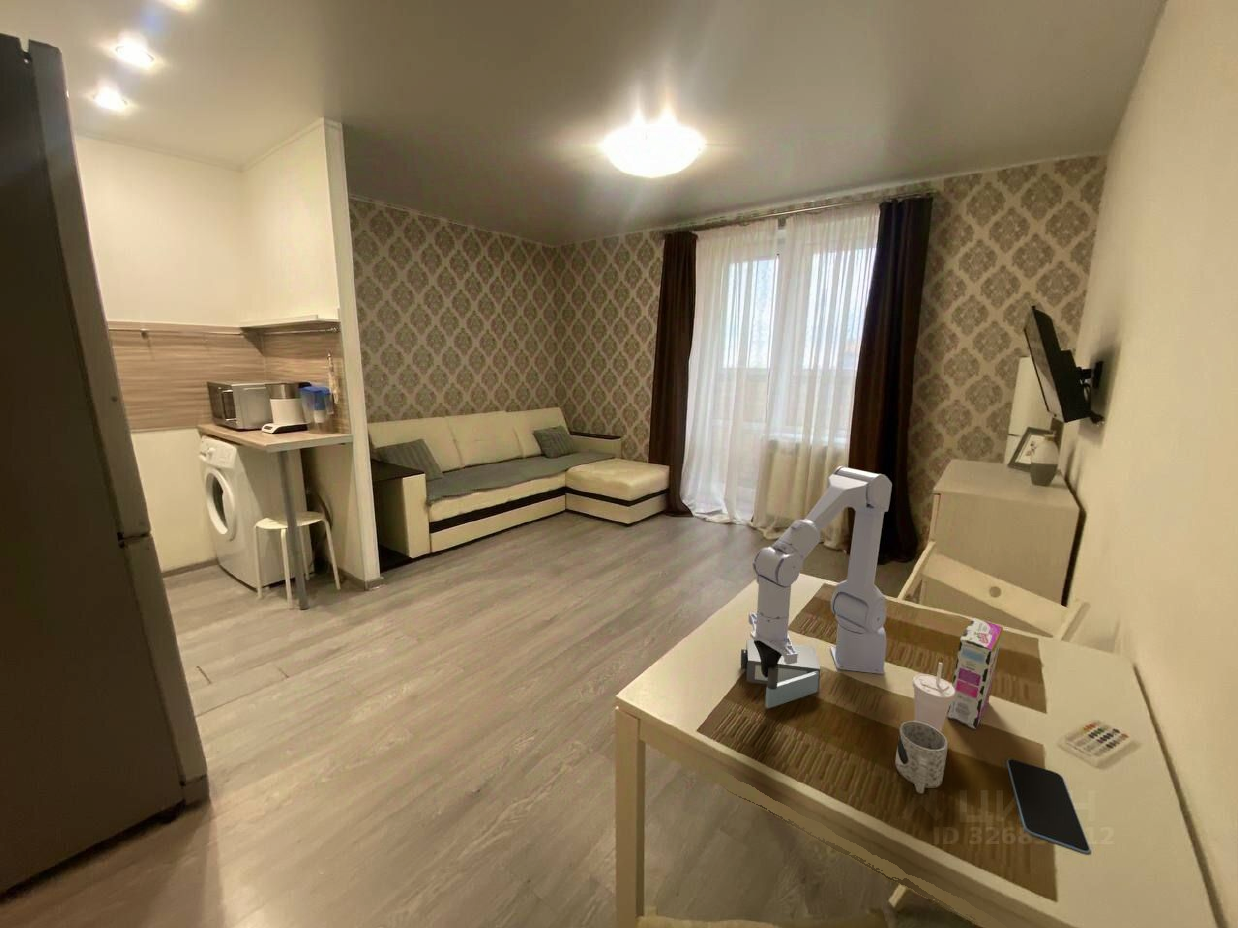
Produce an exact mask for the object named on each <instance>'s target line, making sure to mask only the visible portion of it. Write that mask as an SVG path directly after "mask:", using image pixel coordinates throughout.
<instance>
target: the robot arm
mask: <svg viewBox="0 0 1238 928" xmlns="http://www.w3.org/2000/svg"><path fill="white" fill-rule="evenodd" d="M826 485H827V486H826V490H825V491H824V493H823V495H822V496H821V497H820V498H819V500H818V501H817V503H815V505H814V506H813V508H812V509H811V511H810V512H809V513H808V514H807V516H806V517H805V518H804V519H796V520H795V521H793V522H792V523H791V525H790V526H789V527H788V528H787V529H786V530H785V531H784V532H783V533H782V534H781V536H779V538H778V539H776V541H775V542H774V543H773V544H772V545H771V546H767V547H764V548H761V549H759V551H758V552H757V553H756V555H755V558H754V561H753V562H752V569H753V572H754V573H755V575H756V578H755V579H756V583H757V584H758V591H757V592H758V593H757V605H756V606H757V607H756V609H757V612H754V613H753V612H752V613H748V623H749V624H750V625H752V628H753V631H750V638H751V639H752V640H754V644H755V646H756V648H757V650H758V653H759V656H760V660H761V671H762V674H763V675H764V677H765V678H767V677H768V667H769V666H770V665H775V666H778V661H779V659H780V658H781V656H783V657H784V662H785V663H786V664H787V665H788V664H794V663H797V656H798V653H797V652H796V651H795V650H794V648H793V645H792V644H793V642H792V639H791V637H790V634H789V618H790V605H791V594H792V593H791V592H792V585H793V584H794V583H795V582H796V581H797V580H798V578H799V576H800V573H801V570H802V568H803V566H804V560H805V559H806V558H807V557H808V556H809V554H811V552H812V551H813V550H814V549H815V548H816V547H817V545H818V544H819V543H821V532H822V530H823V529H825V528H826V527H827V525H829V523H831V522H832V521H833V520H834V519H835V518H836V517H837V516H838V515H839V514H840V513H842V512H843V510H845V509H846V508H853V509H854V511H855V515H854V522H853V523H854V524H853V529H852V530H853V531H852V538H851V545H850V554H849V561H848V568H847V577H846V579H845V580H841V581H840V582H838V583H837V584H836V585H835V588H834V589H835V590H834V593H833V595H832V597H831V599H830V610H831V612H832V613H833V614H834V615H835V618H834V619H835V621H837V630H836V631H837V632H836V641H835V646H830V647H829V649H830V653H831V655H832V659H833V662H834V665H835V667H836V669H838V670H842V671H843V670H845V671H855V672H862V673H863V672H864V673H870V674H880V675H884V674H885V670H884V669H885V662H886V661H885V660H886V654H887V653H886V652H887V643H888V642H887V634H886V631H885V628H884V624H885V622H886V620H887V609H886V608H887V607H886V599H887V597H886V596H885V595H884V593H882V591H881V590H880V589H879V588H878V587H877V585H875V579H876V574H877V573H876V572H877V565H878V558H879V552H880V544H881V537H882V530H883V524H884V515H885V513H887V512H888V511H889V507H890V502H891V493H892V487H893V483H892V481H891V480H890V479H889V477H888V476H886V474H882V473H875V472H870V471H866V470H861V469H856V468H851V467H848V466H844V465H840V466H838V467H836V468H835V469H834V471H832V473H831V474H830V475H829V476H828V478H827V483H826Z"/></svg>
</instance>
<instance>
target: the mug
mask: <svg viewBox="0 0 1238 928" xmlns="http://www.w3.org/2000/svg"><path fill="white" fill-rule="evenodd" d="M948 748H949V742H948V739H947V738H946V736H945V735H944V734H943V733H942V731H941V732H940V731H939V730H937V729H936V728H934V727H932V726H930V725H928V724H925V723H922V722H918V721H915V720H908V721H907V720H906V721H903V723H901V724H900V726H899V731H898V738H897V746H896V755H895V768H896V770H897V771H898V773H899V774H900V775H901V776H902V777H904V779H906V780H907V781H909V782H910V783H912V784H914V786H915V791H916V792H917V793H918V794H924V792H925V789H926V788H928V789H934V788H939V786H941V784H943V780H944V779H943V778H944V772H945V766H946V759H947V754H948V753H947V752H948Z"/></svg>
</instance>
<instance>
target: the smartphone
mask: <svg viewBox="0 0 1238 928" xmlns="http://www.w3.org/2000/svg"><path fill="white" fill-rule="evenodd" d="M1006 767H1007V770H1008V773H1009V777H1010V782H1011V785H1012V786H1011V787H1012V789H1013V793H1014V797H1015V800H1016V804H1017V808H1018V811H1019V815H1020V819H1021V823H1022V827H1023V829H1024V830H1025V832H1027V833H1028V834H1030V835H1032V836H1034V837H1037V838H1039V839H1042V840H1046V841H1048V842H1051V843H1054V844H1059V845H1061V846H1062V847H1065V848H1067V849H1068V848H1069V849H1072V850H1073V851H1076V852H1080V853H1082V854H1090V853H1091V847H1090V845H1089V843H1088V839H1087V836H1086V834H1085V832H1084V831H1085V830H1084V828H1083V826H1082V824H1081V821H1080V818H1079V816H1078V814H1077V810H1076V809H1075V806H1074V803H1073V802H1074V801H1073V800H1072V798H1071V795H1070V792H1069V789H1068V787H1067V785H1066V783H1065V780H1064V778H1063V776H1062V775H1061V774H1059V773H1058V772H1055V771H1053V770H1049V769H1046V768H1042V767H1039V766H1036V765H1034V764H1031V763H1027V762H1023V761H1019V760H1017V759H1013V758H1008V759H1007V760H1006Z"/></svg>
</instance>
